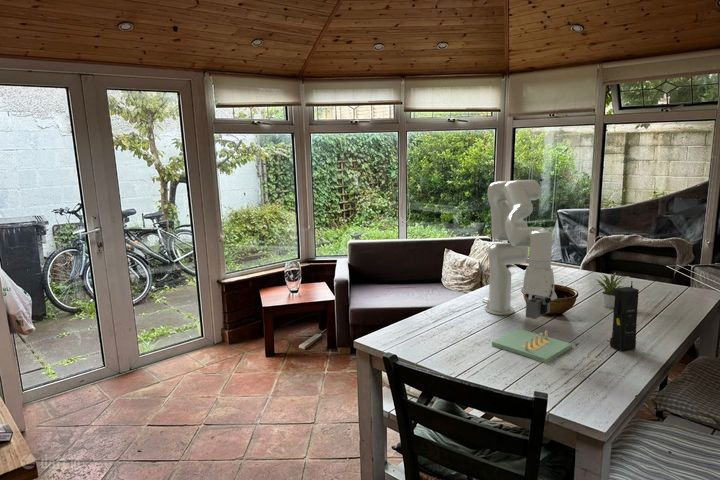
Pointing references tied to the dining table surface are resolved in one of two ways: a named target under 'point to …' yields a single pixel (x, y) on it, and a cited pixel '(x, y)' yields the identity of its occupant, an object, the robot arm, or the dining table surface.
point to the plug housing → (535, 307)
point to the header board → (532, 345)
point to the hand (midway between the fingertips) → (538, 312)
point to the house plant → (609, 290)
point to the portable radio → (624, 318)
